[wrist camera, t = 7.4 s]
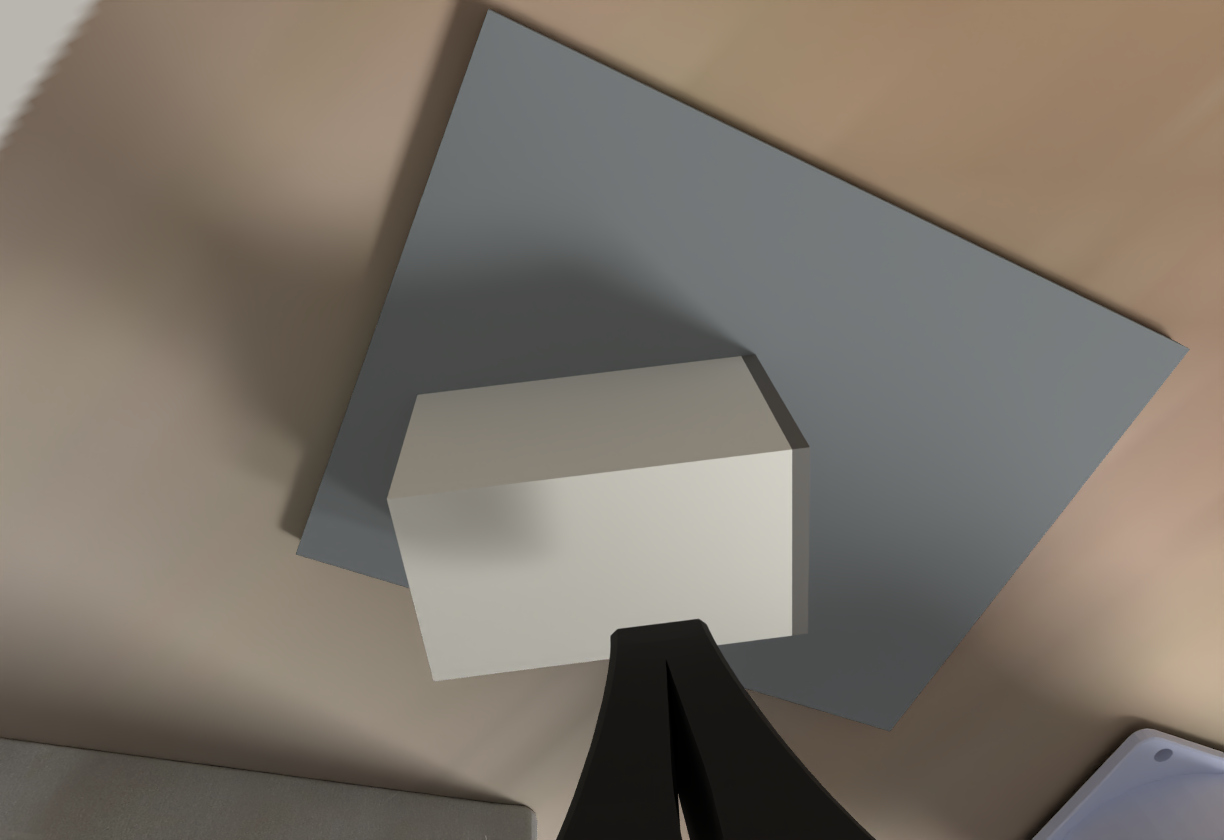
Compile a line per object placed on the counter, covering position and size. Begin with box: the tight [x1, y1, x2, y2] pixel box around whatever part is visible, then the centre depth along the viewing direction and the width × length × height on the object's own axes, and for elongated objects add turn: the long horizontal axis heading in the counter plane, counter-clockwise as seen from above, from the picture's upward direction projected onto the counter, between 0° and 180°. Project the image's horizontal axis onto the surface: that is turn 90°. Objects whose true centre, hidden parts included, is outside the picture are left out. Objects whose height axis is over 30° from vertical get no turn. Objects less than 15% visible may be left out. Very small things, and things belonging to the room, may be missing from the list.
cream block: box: [387, 354, 810, 681], centre depth 17 cm, size 4×4×7 cm
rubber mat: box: [296, 9, 1190, 731], centre depth 19 cm, size 16×12×1 cm
